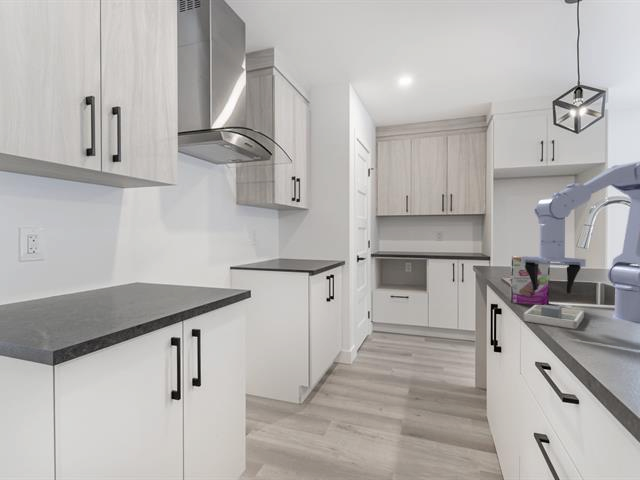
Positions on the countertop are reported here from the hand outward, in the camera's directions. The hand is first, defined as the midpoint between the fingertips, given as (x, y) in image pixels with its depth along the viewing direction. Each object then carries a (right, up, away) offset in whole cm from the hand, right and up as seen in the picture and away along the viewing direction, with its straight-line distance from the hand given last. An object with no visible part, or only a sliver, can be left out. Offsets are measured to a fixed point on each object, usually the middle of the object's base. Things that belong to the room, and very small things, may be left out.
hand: (551, 291), depth 94 cm
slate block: (0, -8, 0) cm, 8 cm away
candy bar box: (+8, -8, +23) cm, 26 cm away
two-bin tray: (+3, -9, +3) cm, 10 cm away
